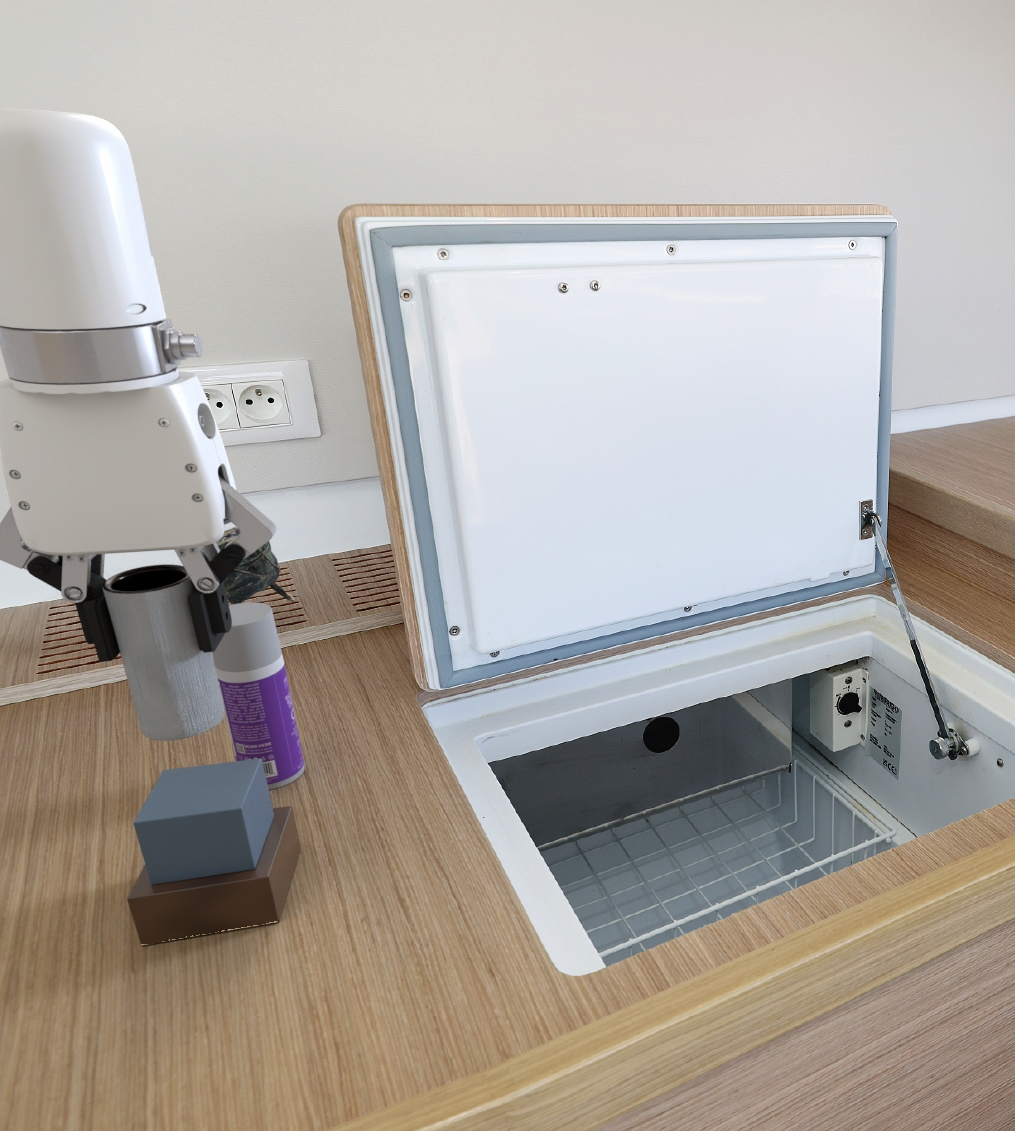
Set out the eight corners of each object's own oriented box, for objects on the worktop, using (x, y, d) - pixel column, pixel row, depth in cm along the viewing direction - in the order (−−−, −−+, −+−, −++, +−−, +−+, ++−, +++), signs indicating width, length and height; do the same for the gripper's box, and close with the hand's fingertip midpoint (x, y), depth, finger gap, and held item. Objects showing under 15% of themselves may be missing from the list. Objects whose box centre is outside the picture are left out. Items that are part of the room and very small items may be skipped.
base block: (140, 946, 62) (126, 898, 60) (177, 867, 69) (165, 822, 67) (279, 923, 64) (268, 876, 63) (301, 848, 71) (292, 805, 70)
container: (316, 770, 80) (286, 611, 75) (261, 797, 77) (224, 632, 71) (284, 752, 83) (252, 596, 77) (229, 778, 79) (191, 616, 73)
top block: (178, 829, 67) (162, 769, 65) (274, 815, 69) (262, 757, 67) (150, 885, 61) (132, 822, 60) (255, 869, 63) (241, 808, 61)
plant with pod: (297, 637, 102) (264, 459, 95) (171, 656, 97) (126, 469, 90) (297, 608, 109) (266, 439, 101) (180, 624, 104) (138, 448, 96)
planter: (202, 698, 64) (169, 558, 60) (240, 718, 62) (207, 575, 58) (127, 727, 60) (87, 580, 57) (164, 750, 58) (124, 599, 55)
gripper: (279, 343, 58) (326, 610, 65) (-63, 343, 53) (27, 634, 60) (250, 366, 52) (306, 660, 59) (-143, 369, 46) (-31, 692, 53)
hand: (164, 644), depth 59 cm, fingers closed on planter, 4 cm apart
